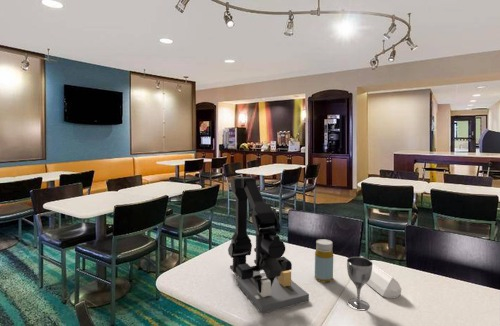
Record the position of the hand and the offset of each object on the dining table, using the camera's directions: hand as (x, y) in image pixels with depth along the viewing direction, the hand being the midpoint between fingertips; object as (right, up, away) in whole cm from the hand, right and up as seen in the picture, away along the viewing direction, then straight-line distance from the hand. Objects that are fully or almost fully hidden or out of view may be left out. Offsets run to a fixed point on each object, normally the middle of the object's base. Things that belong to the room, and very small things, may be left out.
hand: (264, 291), depth 106 cm
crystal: (+43, -3, +13) cm, 45 cm away
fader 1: (0, -1, 0) cm, 1 cm away
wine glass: (+32, -4, -2) cm, 32 cm away
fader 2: (+8, 0, +7) cm, 11 cm away
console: (+3, -3, +6) cm, 8 cm away
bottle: (+24, -2, +17) cm, 30 cm away
